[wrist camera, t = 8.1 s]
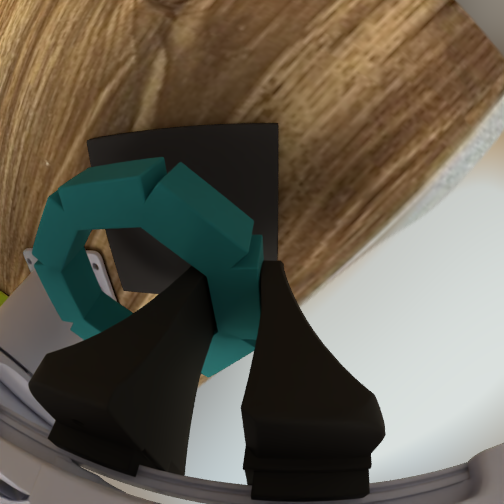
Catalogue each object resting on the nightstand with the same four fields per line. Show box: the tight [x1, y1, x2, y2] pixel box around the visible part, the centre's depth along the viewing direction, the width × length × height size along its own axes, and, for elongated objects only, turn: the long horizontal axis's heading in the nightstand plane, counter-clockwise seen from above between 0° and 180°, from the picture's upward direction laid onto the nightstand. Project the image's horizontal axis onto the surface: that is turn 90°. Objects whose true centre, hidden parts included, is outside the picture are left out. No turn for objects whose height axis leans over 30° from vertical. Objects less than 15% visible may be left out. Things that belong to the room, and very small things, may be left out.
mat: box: [87, 123, 278, 294], centre depth 16 cm, size 10×10×1 cm
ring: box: [32, 157, 264, 377], centre depth 11 cm, size 9×9×2 cm
